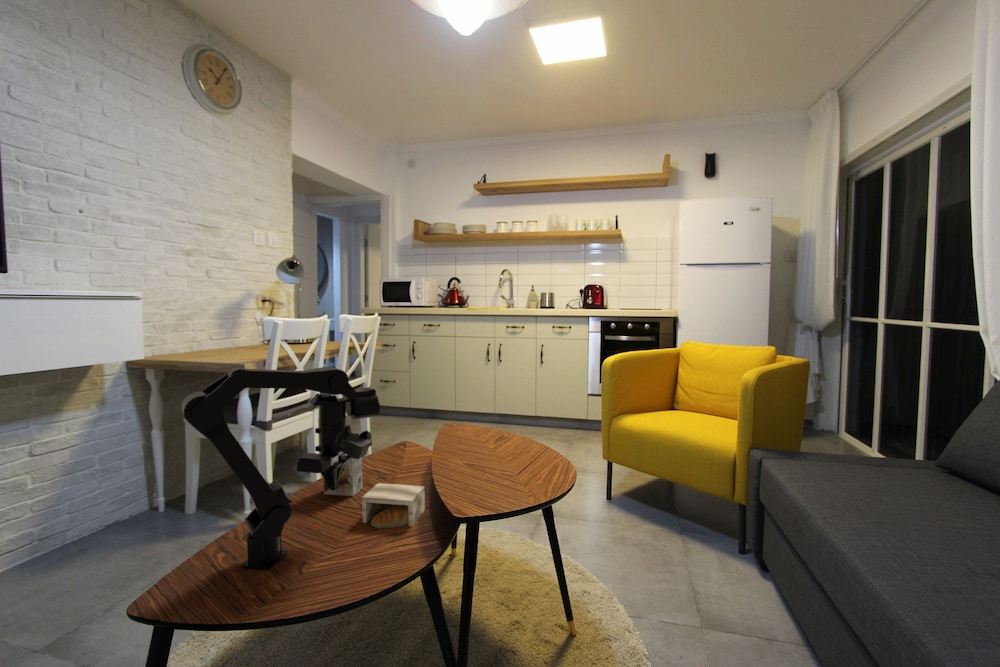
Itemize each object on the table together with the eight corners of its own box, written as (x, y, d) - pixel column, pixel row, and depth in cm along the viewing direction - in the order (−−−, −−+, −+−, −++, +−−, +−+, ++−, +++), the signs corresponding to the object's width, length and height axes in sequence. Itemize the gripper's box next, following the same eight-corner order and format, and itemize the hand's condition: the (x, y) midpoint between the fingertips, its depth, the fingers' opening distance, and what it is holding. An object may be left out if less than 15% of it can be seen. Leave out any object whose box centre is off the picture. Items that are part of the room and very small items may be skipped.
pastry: (374, 533, 106) (373, 518, 106) (368, 522, 112) (368, 507, 112) (412, 524, 111) (412, 509, 110) (405, 514, 116) (405, 499, 116)
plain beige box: (412, 526, 109) (412, 500, 109) (362, 522, 111) (362, 497, 111) (424, 510, 118) (424, 486, 118) (378, 506, 120) (378, 483, 120)
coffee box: (323, 495, 128) (321, 439, 127) (334, 486, 134) (333, 433, 133) (353, 496, 127) (352, 440, 126) (363, 487, 133) (362, 434, 132)
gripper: (341, 435, 92) (342, 510, 92) (384, 415, 110) (384, 478, 111) (293, 432, 94) (294, 505, 95) (343, 412, 112) (344, 474, 113)
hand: (333, 489), depth 103 cm, fingers closed
